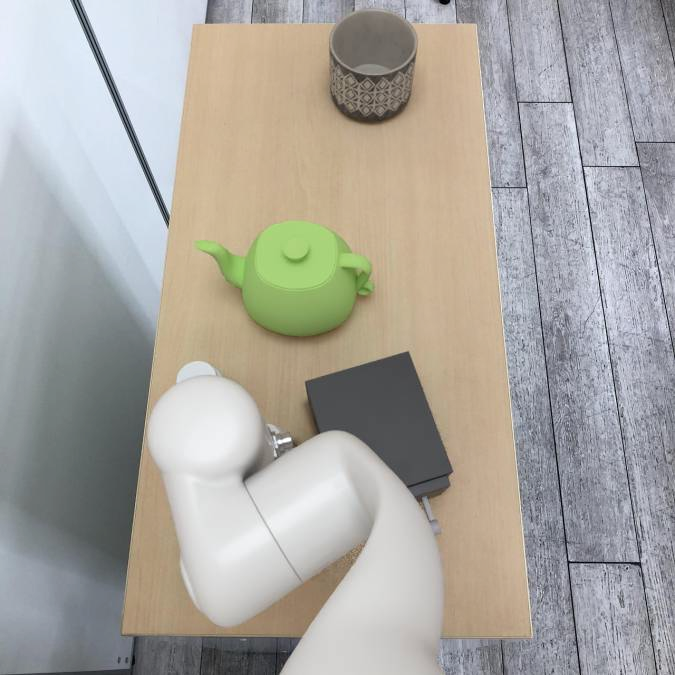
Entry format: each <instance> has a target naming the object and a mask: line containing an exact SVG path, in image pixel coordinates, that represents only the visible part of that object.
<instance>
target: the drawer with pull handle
mask: <svg viewBox="0 0 675 675" xmlns="http://www.w3.org/2000/svg"><path fill="white" fill-rule="evenodd" d="M451 486H452V485H451V482H450V478H449V477H448V476H447V475H445V476H442V477H439V478H436V479H432V480H429V481H426V482H423V483H420V484H417V485H413V486H410V487H407V488H408V489H409V491H410V492H411V493H412V495H413V496H414V497H415V499H416V500H417V502H418V503H420V502H422V506H423V508H424V512H425V515H426V517H427V519H428V521H429V523H430V525H431V527H432V529H433V532H434V535H435V536H439V535H441V534H442V529H441V525H440V523H439V520H438V519H435V516H434V513H433V511H432V508H431V505H430V502H429V500H430V499H432V498H436V497H439V496H441V495H442V494H443V493H444V492H445V491H446V490H448V488H450V487H451Z"/></svg>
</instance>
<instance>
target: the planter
mask: <svg viewBox="0 0 675 675" xmlns="http://www.w3.org/2000/svg"><path fill="white" fill-rule="evenodd" d="M416 31H417V30H416V29H415V27H414V26H413V25H412V23H411V22H410V21H409V20H408V19H406V18H405V17H404V16H403V15H401V14H399V13H397V12H395V11H393V10H389V9H387V8H386V9H385V8H378V7H368V8H361V9H360V8H359V9H357V10H354V11H351V12H349V13H346V14H345V15H343V16H342V17H341V18H340V19H339V20H338V21H336V23H335V24H334V26H332V28H331V31H330V33H329V37H328V51H329V89H330V90H329V92H330V96H331V99H332V101H333V102H334V105H336V107H337V108H338V109H339V110H340V111H341V112H343V114H345V115H347V116H349V117H351V118H353V119H357V120H360V121H366V122H376V121H382V120H386V119H389V118H392V117H393V116H396V115H398V114H399V113H400V112H401V111H402V110H403V109H404V108H405V107H406V106H407V105H408V102H409V100H410V98H411V95H412V88H413V82H414V75H415V68H416V60H417V55H418V46H419V38H418V33H417V32H416Z"/></svg>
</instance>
